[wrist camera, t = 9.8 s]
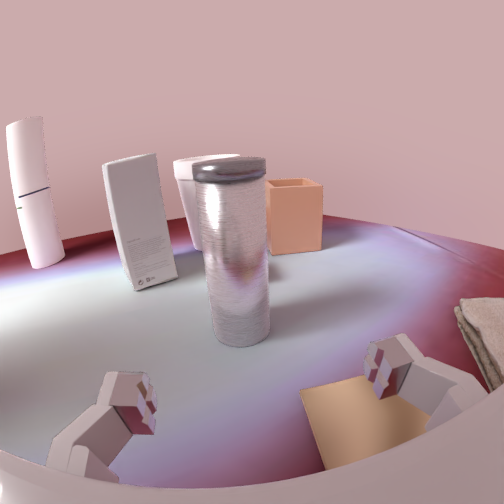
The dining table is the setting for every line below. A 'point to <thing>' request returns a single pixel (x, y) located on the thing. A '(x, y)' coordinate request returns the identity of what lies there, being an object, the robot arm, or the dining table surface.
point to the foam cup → (192, 191)
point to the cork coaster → (358, 421)
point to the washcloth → (484, 335)
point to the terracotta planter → (293, 215)
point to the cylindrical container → (33, 192)
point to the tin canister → (235, 246)
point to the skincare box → (139, 220)
